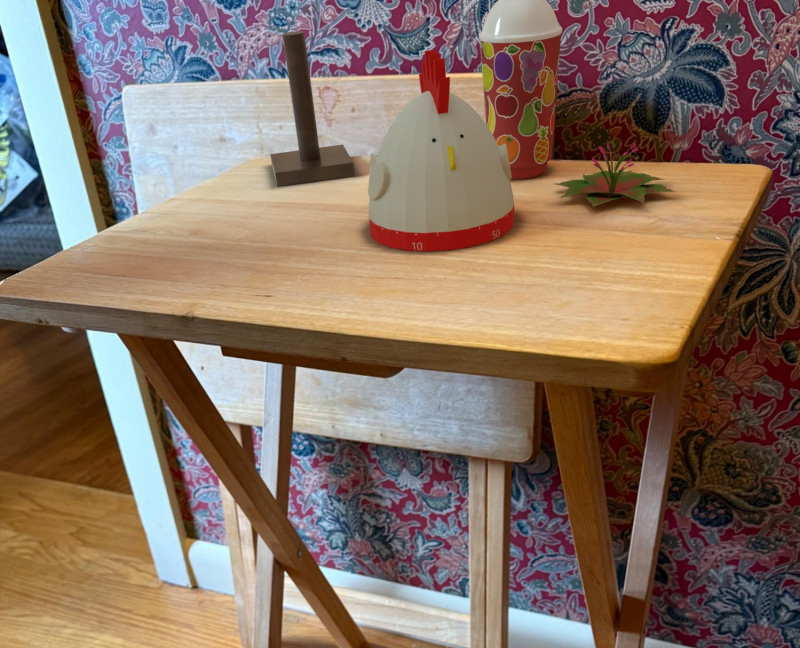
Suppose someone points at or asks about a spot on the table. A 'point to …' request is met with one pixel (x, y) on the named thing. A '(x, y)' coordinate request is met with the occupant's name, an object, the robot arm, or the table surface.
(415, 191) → the kitchen timer
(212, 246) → the table surface
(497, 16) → the smoothie
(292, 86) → the peg stand
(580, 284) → the table surface
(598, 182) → the lily flower
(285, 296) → the table surface
